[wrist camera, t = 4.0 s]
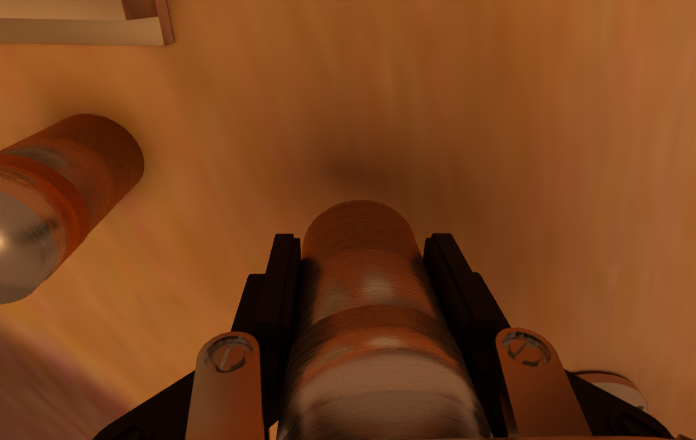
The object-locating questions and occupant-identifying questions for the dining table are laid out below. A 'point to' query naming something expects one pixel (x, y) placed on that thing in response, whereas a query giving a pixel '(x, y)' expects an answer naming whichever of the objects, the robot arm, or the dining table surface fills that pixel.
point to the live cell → (59, 195)
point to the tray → (85, 22)
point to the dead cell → (372, 339)
